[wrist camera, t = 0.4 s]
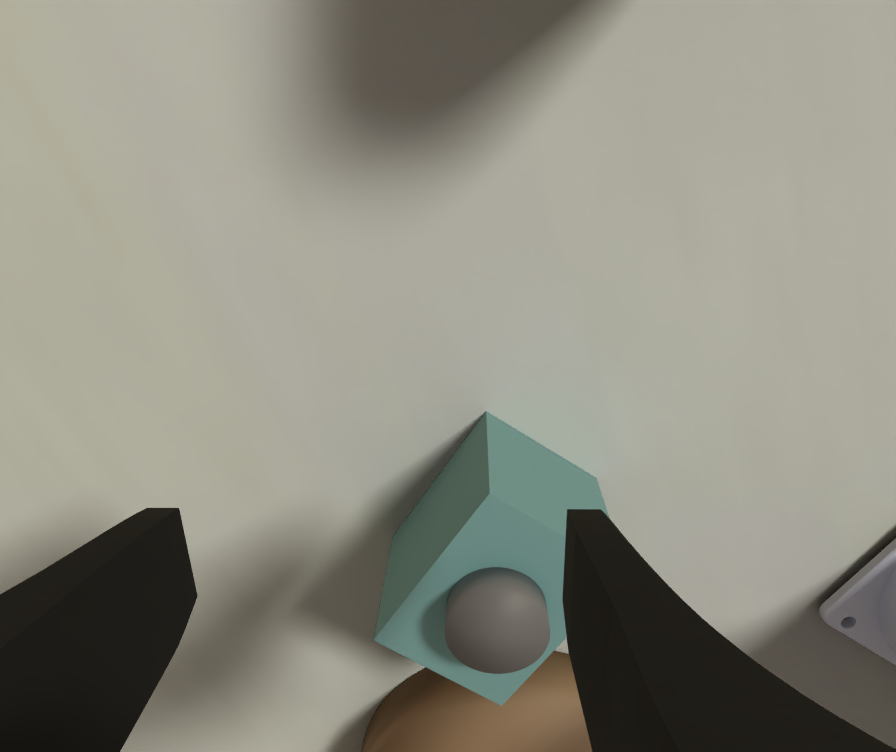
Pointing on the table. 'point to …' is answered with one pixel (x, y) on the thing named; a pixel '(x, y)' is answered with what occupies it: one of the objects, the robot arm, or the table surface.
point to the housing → (485, 562)
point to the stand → (482, 715)
